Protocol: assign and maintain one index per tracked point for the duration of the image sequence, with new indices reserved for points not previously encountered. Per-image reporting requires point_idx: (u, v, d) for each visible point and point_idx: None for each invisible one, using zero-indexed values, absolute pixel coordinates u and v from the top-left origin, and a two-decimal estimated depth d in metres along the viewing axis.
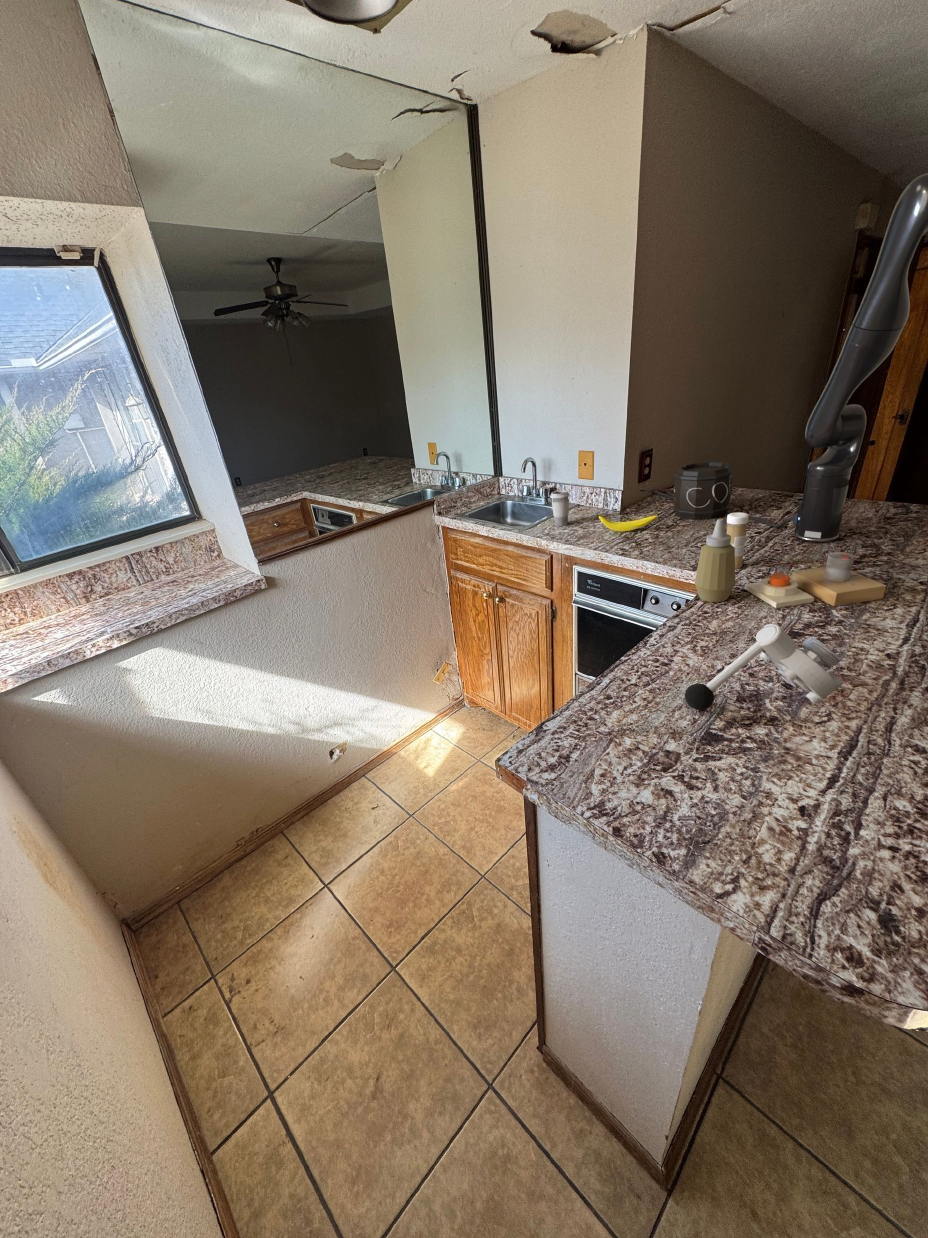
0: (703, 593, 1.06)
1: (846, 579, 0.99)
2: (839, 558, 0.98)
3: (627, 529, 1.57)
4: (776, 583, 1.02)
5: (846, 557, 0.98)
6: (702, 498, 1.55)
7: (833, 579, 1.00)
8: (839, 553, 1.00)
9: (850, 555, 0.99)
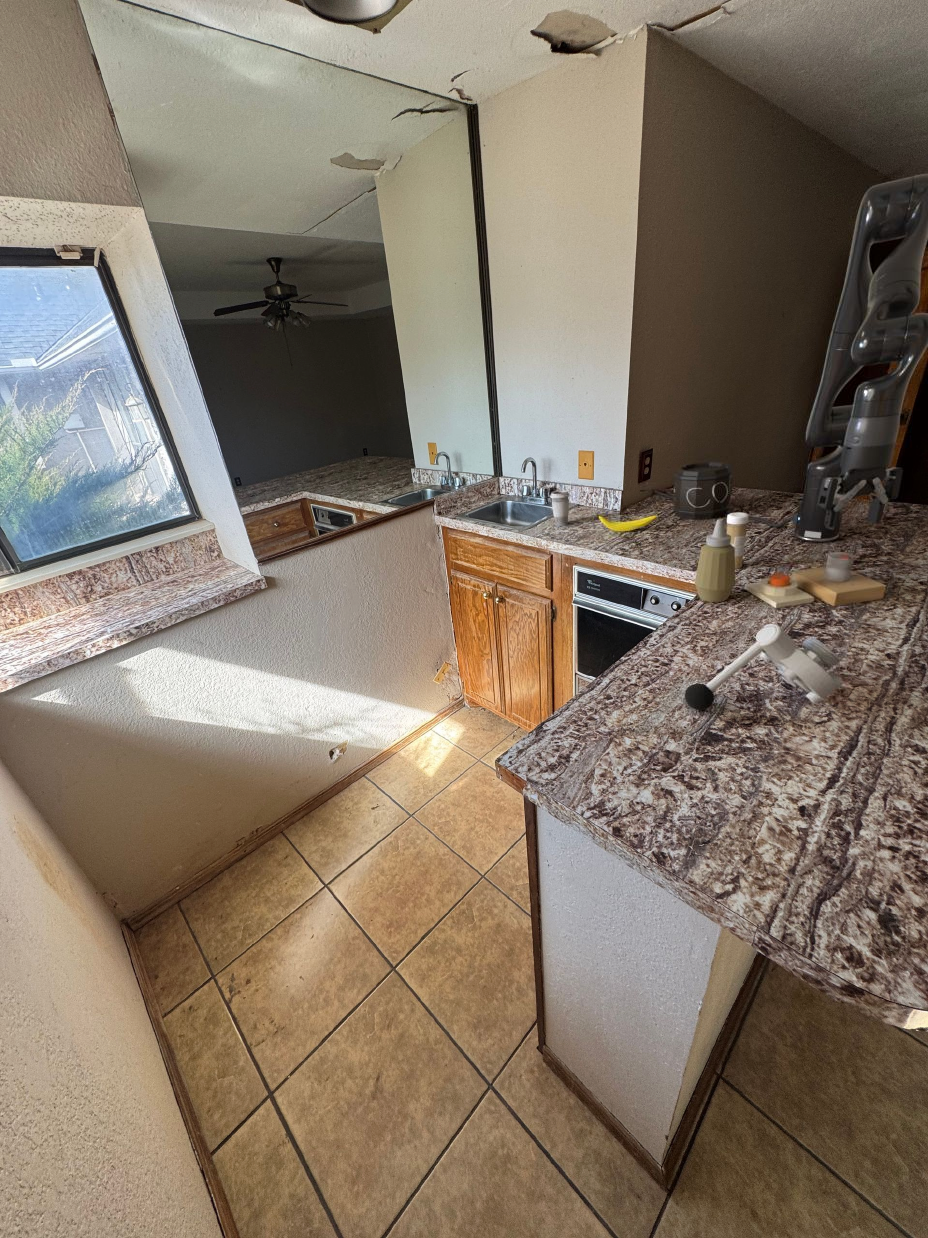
0: (703, 593, 1.06)
1: (846, 579, 0.99)
2: (839, 558, 0.98)
3: (627, 529, 1.57)
4: (776, 583, 1.02)
5: (846, 557, 0.98)
6: (702, 498, 1.55)
7: (833, 579, 1.00)
8: (839, 553, 1.00)
9: (850, 555, 0.99)
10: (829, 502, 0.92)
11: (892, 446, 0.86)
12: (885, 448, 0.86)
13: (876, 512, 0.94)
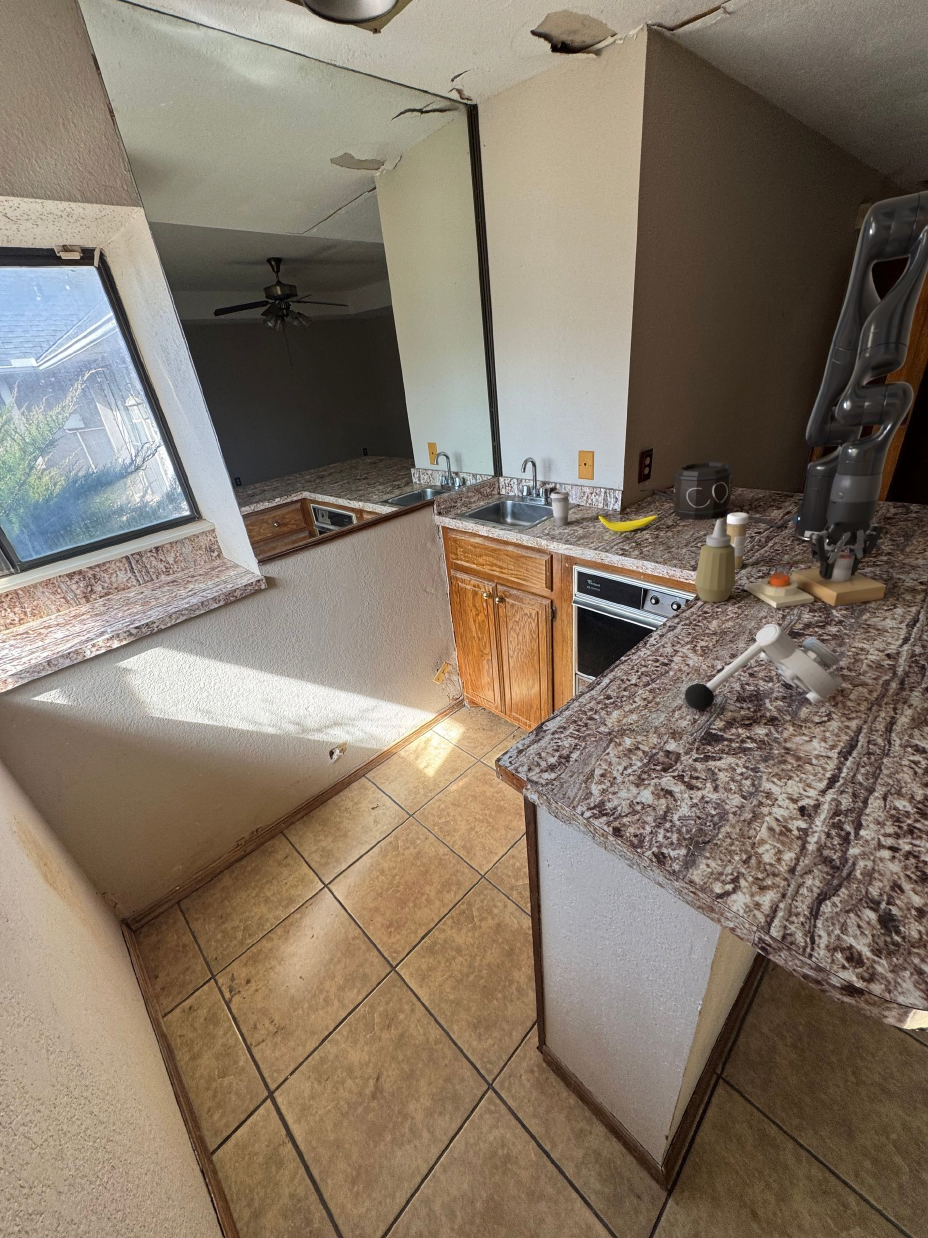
0: (703, 593, 1.06)
1: (846, 579, 0.99)
2: (839, 558, 0.98)
3: (627, 529, 1.57)
4: (776, 583, 1.02)
5: (846, 557, 0.98)
6: (702, 498, 1.55)
7: (833, 579, 1.00)
8: (839, 553, 1.00)
9: (850, 555, 0.99)
10: (822, 555, 0.98)
11: (875, 502, 0.91)
12: (868, 504, 0.91)
13: None
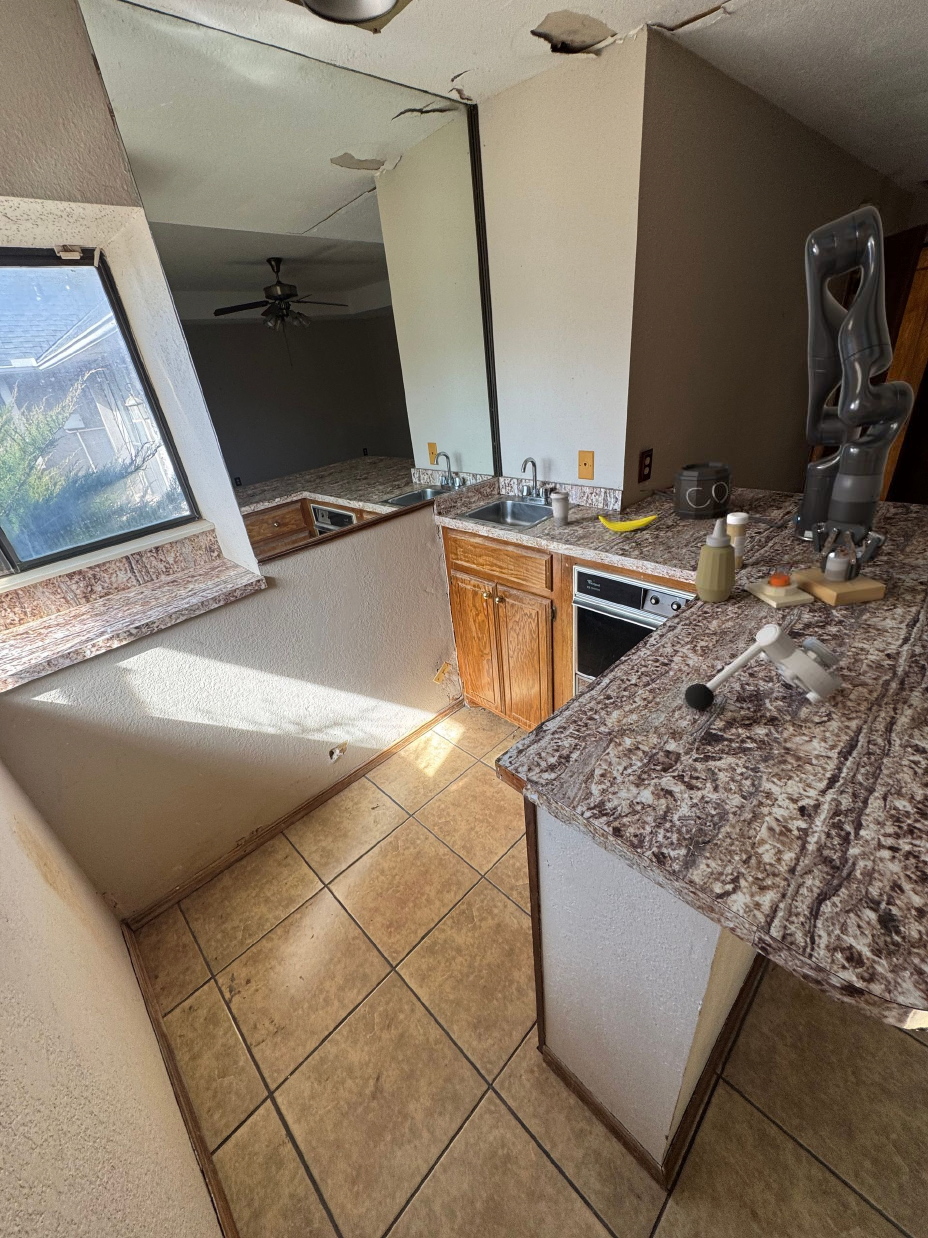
0: (703, 593, 1.06)
1: None
2: None
3: (627, 529, 1.57)
4: (776, 583, 1.02)
5: None
6: (702, 498, 1.55)
7: None
8: (834, 556, 0.99)
9: (836, 553, 1.01)
10: None
11: None
12: None
13: None
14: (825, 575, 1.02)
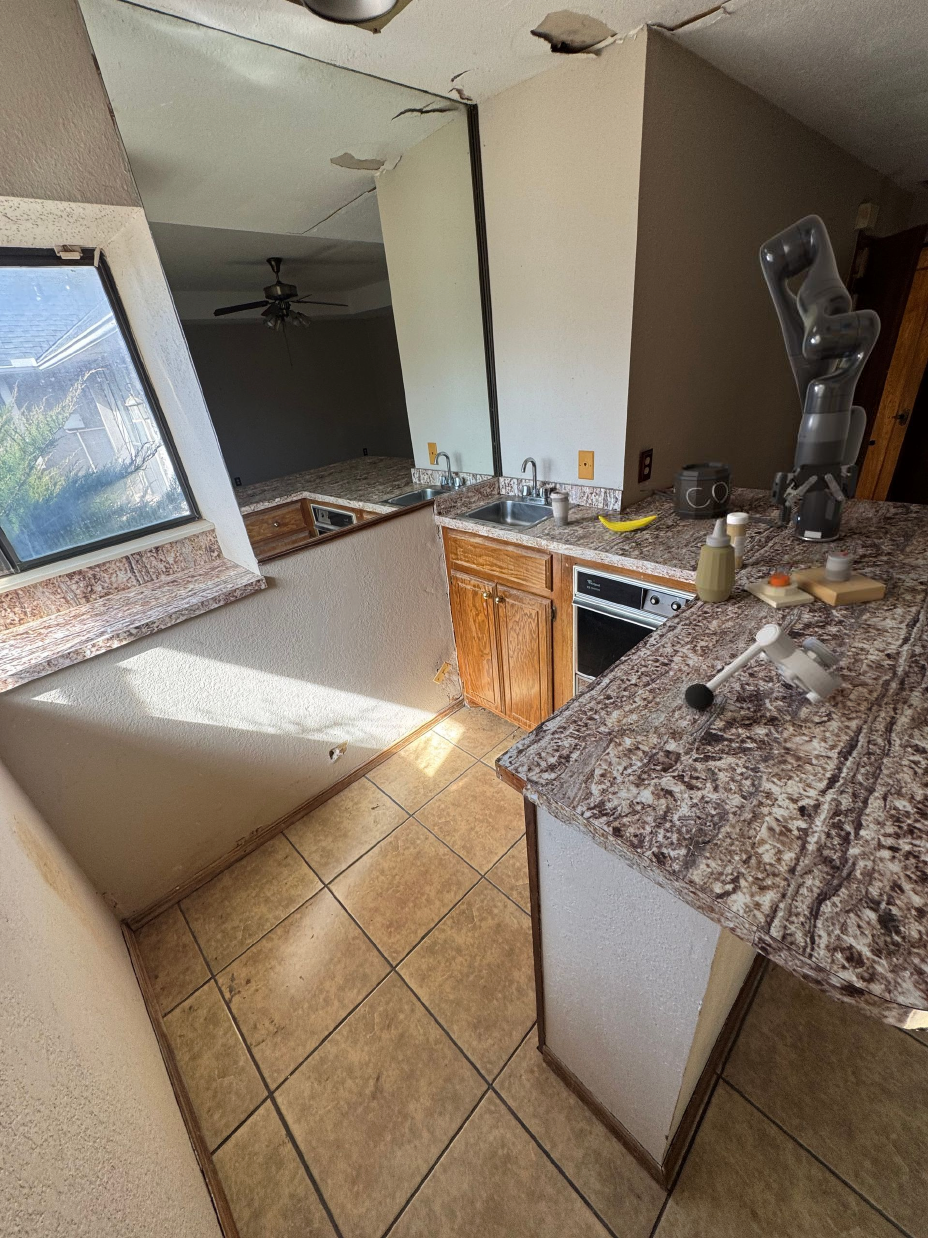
0: (703, 593, 1.06)
1: None
2: (851, 555, 0.98)
3: (627, 529, 1.57)
4: (776, 583, 1.02)
5: (848, 553, 0.99)
6: (702, 498, 1.55)
7: None
8: (835, 556, 0.99)
9: (836, 553, 1.01)
10: None
11: None
12: None
13: None
14: (825, 575, 1.02)
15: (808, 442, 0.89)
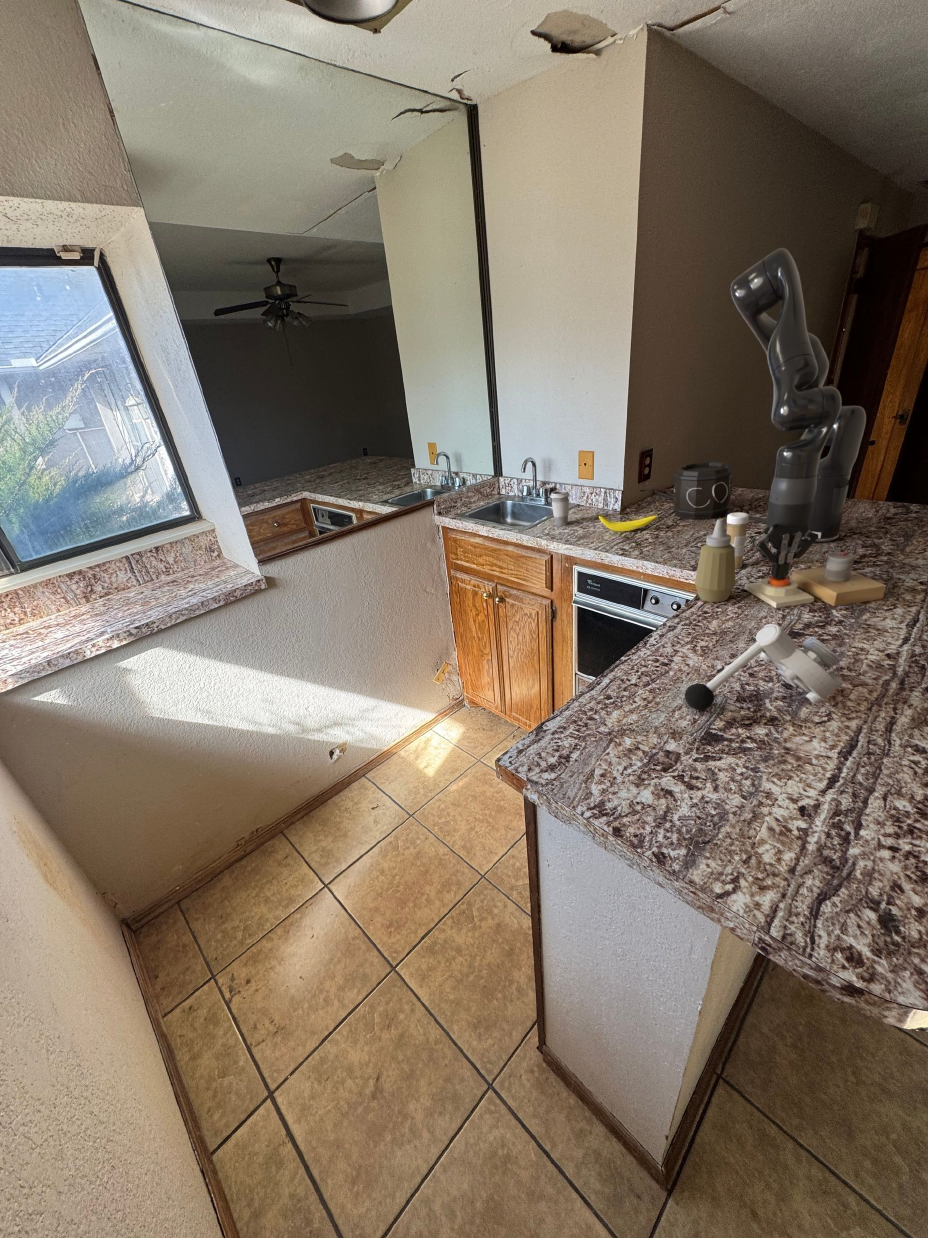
0: (703, 593, 1.06)
1: None
2: (851, 555, 0.98)
3: (627, 529, 1.57)
4: (776, 585, 1.02)
5: (848, 553, 0.99)
6: (702, 498, 1.55)
7: None
8: (835, 556, 0.99)
9: (836, 553, 1.01)
10: None
11: None
12: None
13: None
14: (825, 575, 1.02)
15: (780, 504, 0.94)
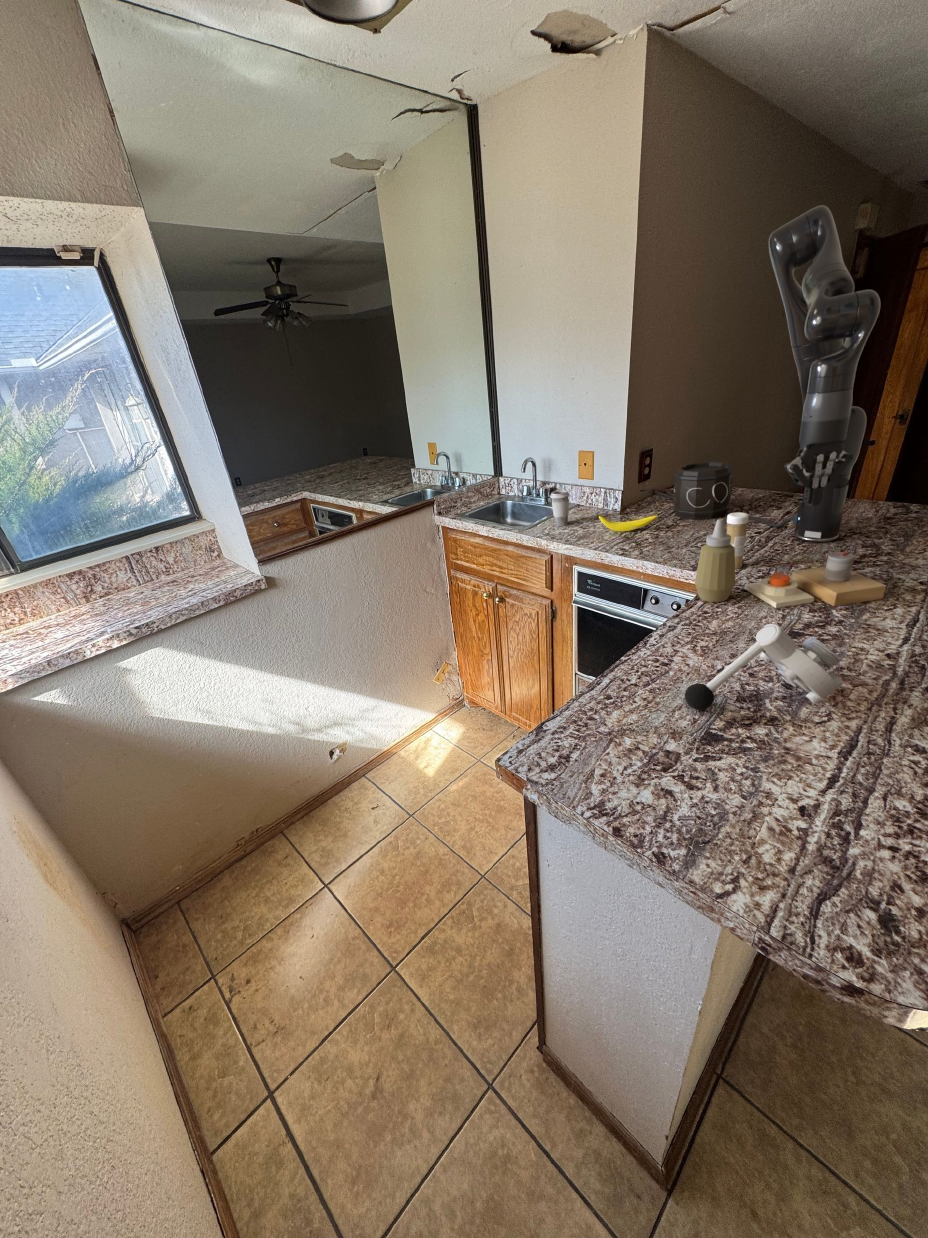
0: (703, 593, 1.06)
1: None
2: (851, 555, 0.98)
3: (627, 529, 1.57)
4: (776, 583, 1.02)
5: (848, 553, 0.99)
6: (702, 498, 1.55)
7: None
8: (835, 556, 0.99)
9: (836, 553, 1.01)
10: None
11: None
12: None
13: None
14: (825, 575, 1.02)
15: (815, 421, 0.90)
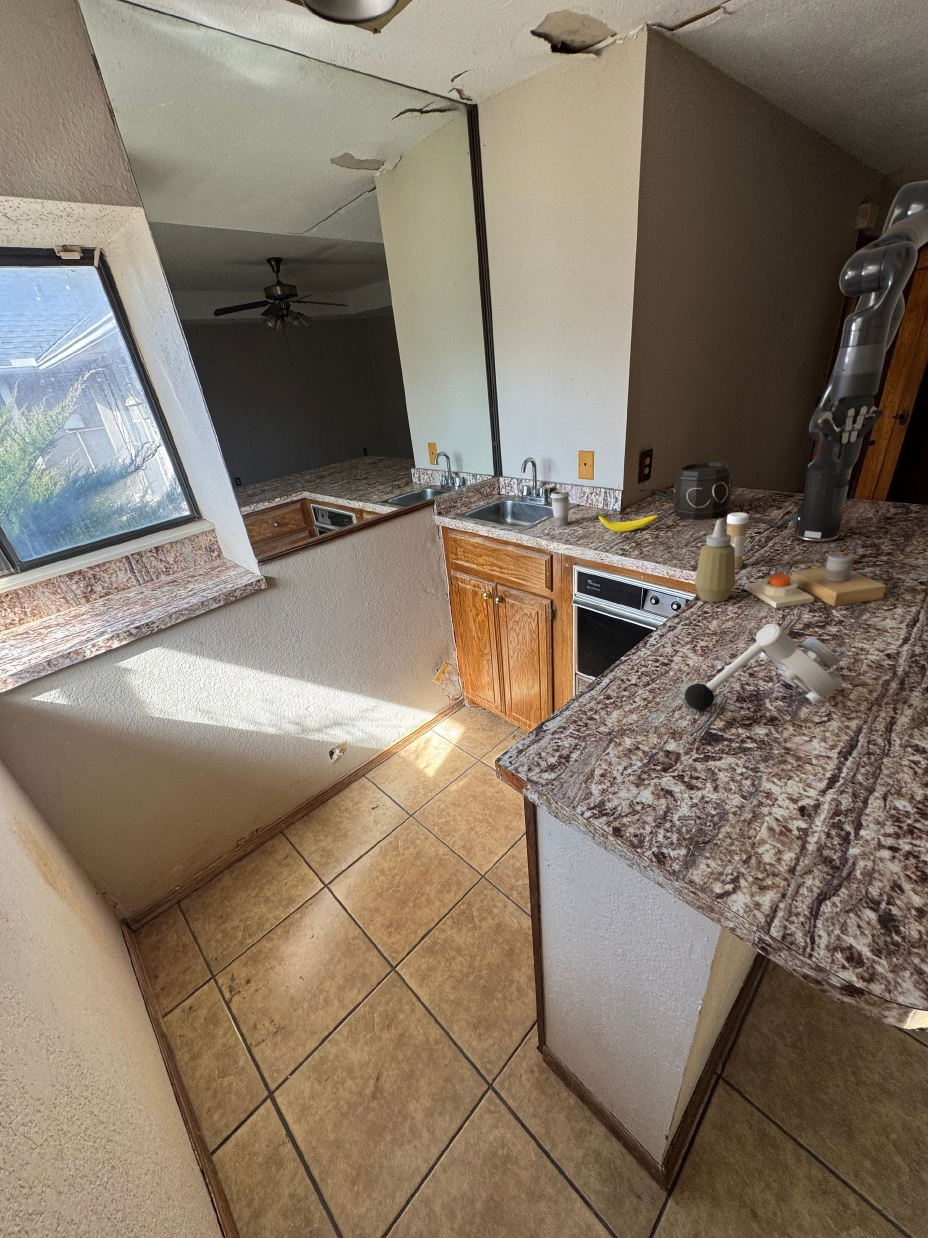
0: (703, 593, 1.06)
1: None
2: (851, 555, 0.98)
3: (627, 529, 1.57)
4: (776, 583, 1.02)
5: (848, 553, 0.99)
6: (702, 498, 1.55)
7: None
8: (835, 556, 0.99)
9: (836, 553, 1.01)
10: None
11: None
12: None
13: None
14: (825, 575, 1.02)
15: (848, 375, 0.93)
